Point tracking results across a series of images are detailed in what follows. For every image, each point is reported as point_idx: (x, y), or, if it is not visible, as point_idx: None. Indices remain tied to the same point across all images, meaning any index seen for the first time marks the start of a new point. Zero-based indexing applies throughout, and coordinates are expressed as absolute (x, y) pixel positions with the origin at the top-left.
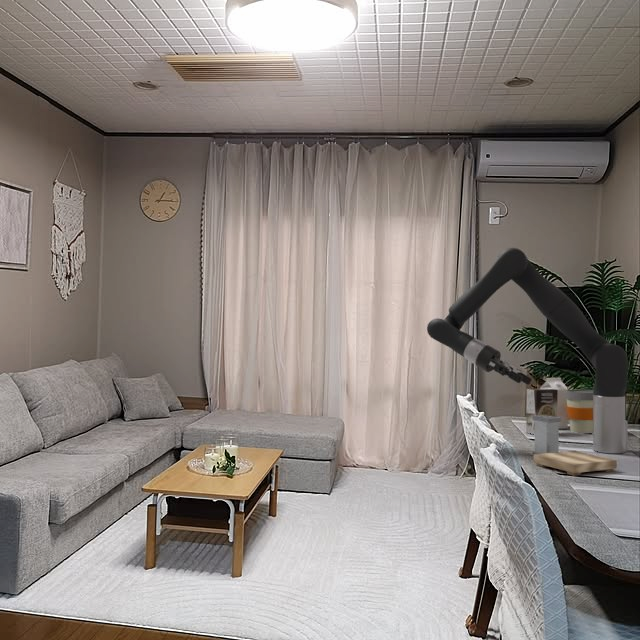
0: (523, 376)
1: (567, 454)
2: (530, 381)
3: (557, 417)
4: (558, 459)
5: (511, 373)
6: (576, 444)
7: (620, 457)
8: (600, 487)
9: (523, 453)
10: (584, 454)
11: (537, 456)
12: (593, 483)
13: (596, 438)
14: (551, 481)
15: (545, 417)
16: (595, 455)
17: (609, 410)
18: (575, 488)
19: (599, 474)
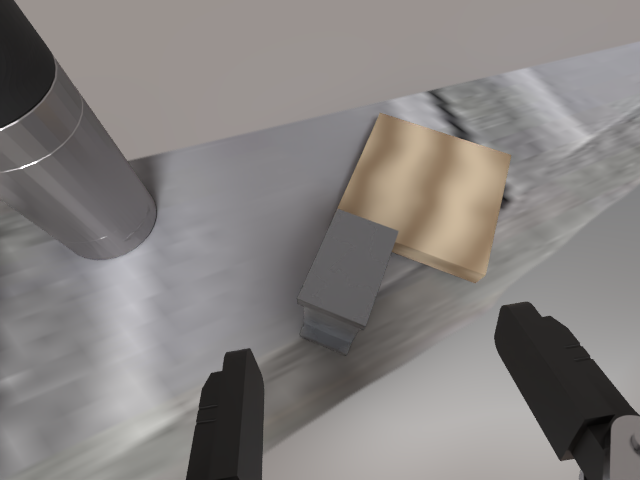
0: (249, 438)
1: (405, 210)
2: (252, 359)
3: (337, 222)
4: (488, 200)
5: (620, 404)
6: (21, 341)
7: (194, 172)
8: (538, 111)
9: (325, 401)
10: (369, 181)
11: (486, 262)
12: (520, 128)
13: (128, 220)
14: (583, 185)
15: (376, 256)
16: (360, 159)
17: (90, 113)
18: (587, 136)
19: None
